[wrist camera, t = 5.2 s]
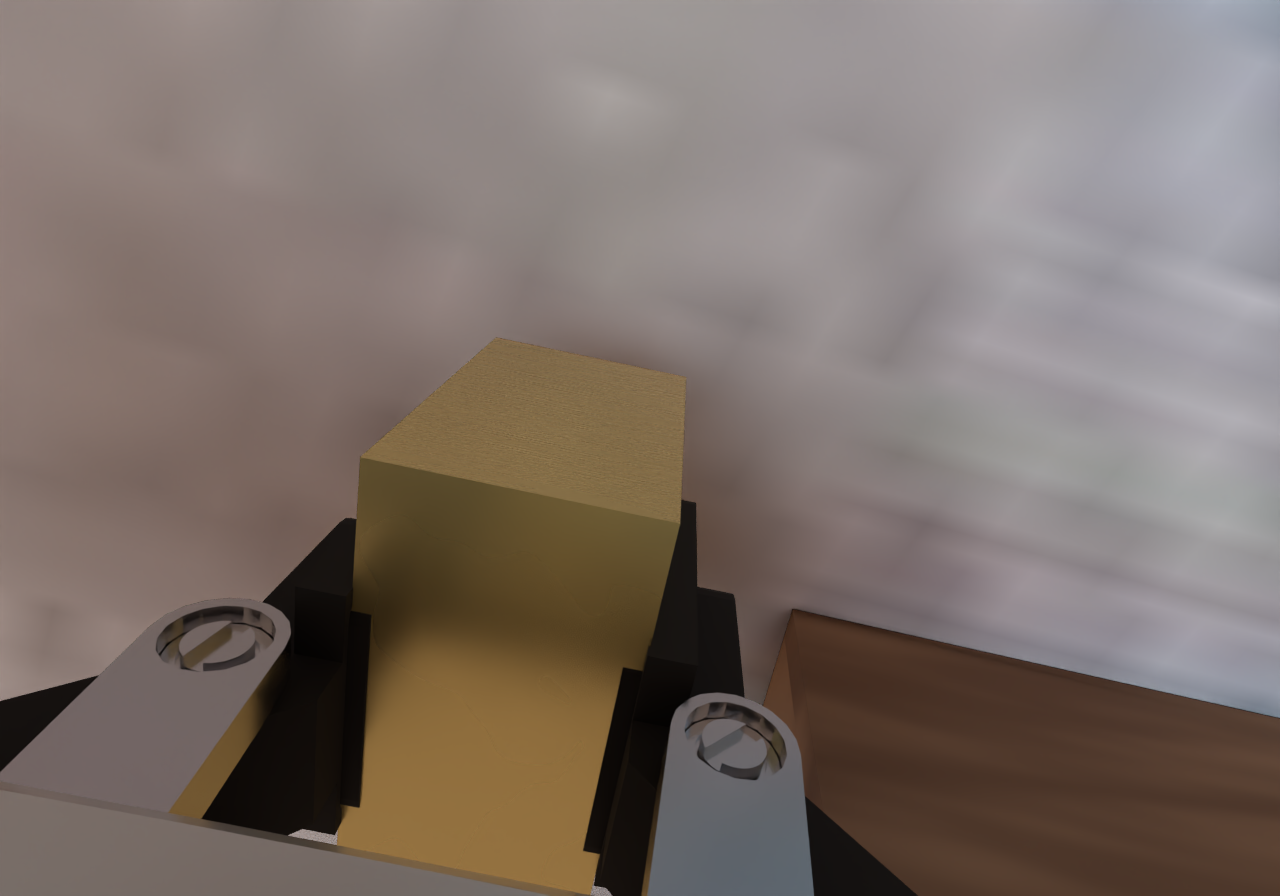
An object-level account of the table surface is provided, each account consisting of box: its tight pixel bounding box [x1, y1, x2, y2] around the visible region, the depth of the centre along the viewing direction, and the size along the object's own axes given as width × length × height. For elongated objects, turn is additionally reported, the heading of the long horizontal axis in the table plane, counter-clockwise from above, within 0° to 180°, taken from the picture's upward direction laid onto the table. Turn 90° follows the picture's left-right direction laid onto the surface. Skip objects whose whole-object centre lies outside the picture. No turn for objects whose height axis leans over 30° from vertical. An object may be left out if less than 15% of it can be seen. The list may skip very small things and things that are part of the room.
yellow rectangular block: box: [337, 337, 686, 895], centre depth 10 cm, size 6×3×5 cm, turn 169°
